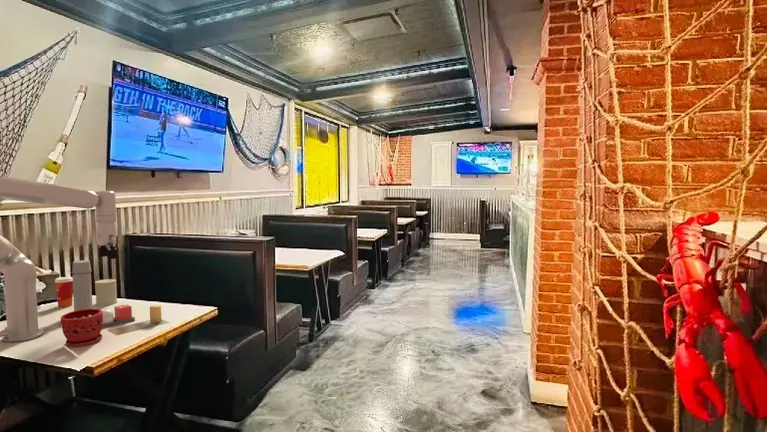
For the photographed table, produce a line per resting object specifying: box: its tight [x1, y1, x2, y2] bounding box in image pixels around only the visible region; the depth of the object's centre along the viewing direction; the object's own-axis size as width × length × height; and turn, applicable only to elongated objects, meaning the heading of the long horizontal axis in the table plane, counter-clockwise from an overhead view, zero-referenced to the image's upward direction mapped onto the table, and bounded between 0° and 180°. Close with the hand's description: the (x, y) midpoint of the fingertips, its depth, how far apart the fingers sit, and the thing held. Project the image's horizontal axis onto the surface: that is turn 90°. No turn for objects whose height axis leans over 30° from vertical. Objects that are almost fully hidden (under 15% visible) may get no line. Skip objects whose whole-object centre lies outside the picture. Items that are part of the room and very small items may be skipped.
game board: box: [107, 319, 170, 336], centre depth 186 cm, size 21×10×1 cm, turn 141°
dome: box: [102, 308, 115, 324], centre depth 188 cm, size 6×6×7 cm
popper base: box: [96, 304, 136, 329], centre depth 190 cm, size 14×8×7 cm, turn 141°
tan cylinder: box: [149, 304, 163, 324], centre depth 192 cm, size 4×4×7 cm
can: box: [94, 278, 118, 307], centre depth 224 cm, size 9×9×12 cm
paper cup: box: [54, 276, 74, 308], centre depth 218 cm, size 8×8×14 cm
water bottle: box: [70, 259, 93, 311], centre depth 204 cm, size 9×8×25 cm
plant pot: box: [60, 308, 103, 348], centre depth 167 cm, size 13×13×12 cm
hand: (107, 257), depth 194 cm, fingers open, 9 cm apart
